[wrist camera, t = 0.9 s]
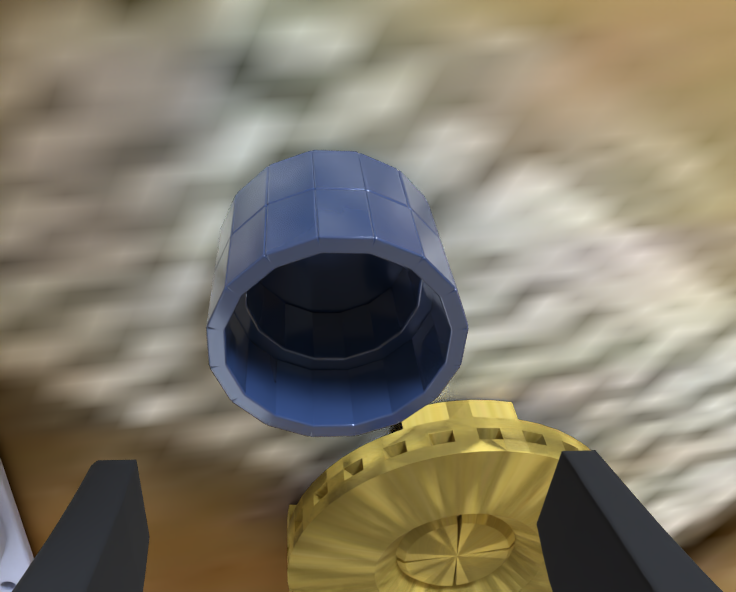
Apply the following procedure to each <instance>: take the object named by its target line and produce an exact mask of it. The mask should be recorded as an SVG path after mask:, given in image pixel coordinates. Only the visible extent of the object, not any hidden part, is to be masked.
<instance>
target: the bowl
mask: <svg viewBox="0 0 736 592" xmlns="http://www.w3.org/2000/svg"><path fill="white" fill-rule="evenodd" d="M467 333H468V322H467V319H466V316H465V313H464V309H463V306H462V303H461V300H460V296H459V293H458V290H457V287H456V284H455V281H454V278H453V275H452V272H451V269H450V266H449V263H448V260H447V257H446V254H445V251H444V248H443V245H442V242H441V239H440V236H439V234H438V231H437V228H436V225H435V222H434V219H433V216H432V213H431V210H430V207H429V204H428V202H427V201H426V198H425V196H424V195H423V194H422V193H421V192H420V191H419V190H418V189H417V188H416V187H415V186H414V185H413V184H412V182H411V181H410V180H409V179H408V178H407V177H406V176H405V175H404V174H403V173H402V172H401V171H398V170H397V169H396V168H394V167H392V166H389V165H387V164H385V163H382V162H380V161H378V160H375V159H373V158H371V157H369V156H366V155H364V154H361V153H359V154H358V152H356V151H327V150H313V151H308V152H305V153H302V154H299V155H296V156H294V157H291V158H288V159H285V160H282V161H279V162H276V163H273V164H271V165H269V167H266V168H265V169H264V170H263V171H261V172H260V173H259V174H258V175H257V176H256V177H255V178H254V179H252V180H251V181H250V182H249V183H248V184H247V185H246V186H244V187H243V188H242V189H241V190H240V191H239V192H238V193H237V194H236V195H235V197H234V199H233V201H232V204H231V206H230V208H229V211H228V213H227V215H226V217H225V220H224V222H223V224H222V226H221V230H220V237H219V244H218V250H217V257H216V264H215V271H214V277H213V284H212V291H211V297H210V304H209V311H208V318H207V325H206V334H207V348H208V361H209V366H210V369H211V371H212V372H213V374H214V375H215V377H216V378H217V380H218V382H219V383H220V385H221V386H222V388H223V389H224V391H225V393H226V394H227V396H228V397H229V399H230V400H232V402H233V403H234V404H236V405H237V406H239V407H240V408H242V409H243V410H245V411H246V412H248V413H249V414H251V415H252V416H254V417H255V418H257V419H258V420H260V421H261V422H263V423H264V424H267V425H268V426H271V427H275V428H279V429H282V430H286V431H290V432H293V433H297V434H301V435H305V436H311V437H336V436H355V435H356V436H358V435H362V434H365V433H368V432H372V431H375V430H378V429H382V428H385V427H388V426H392V425H395V424H398V423H399V422H402V421H404V420H405V419H407V418H408V417H410V416H411V415H413V414H414V413H416V412H417V411H419V410H420V409H422V408H423V407H425V406H426V405H428V404H430V403H431V402H433V401H434V400H435V399H436V398H437V397H438V396H439V395H440V393H441V392H442V391H443V389H444V388H445V387H446V385H447V384H448V383H449V381H450V380H451V379H452V377H453V376H454V374H455V373H456V372H457V370H458V369H459V368H460V365H461V363H462V358H463V353H464V348H465V343H466V338H467Z"/></svg>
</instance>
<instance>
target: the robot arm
mask: <svg viewBox="0 0 736 592" xmlns="http://www.w3.org/2000/svg"><path fill="white" fill-rule="evenodd" d="M537 529H538V534H539V539H540V543H541V548H542V553H543V557H544V562H545V566H546V570H547V574H548V578H549V582H550V585H551V588H552V591H553V592H723V591H722V590H721V589H720V588H719V587H718V586H717V585H716V584H715V583H714V582H713V581H712V580H711V579H710V578H709V577H708V576H707V575H706V574H705V573H704V572H703V571H702V570H701V569H700V568H699V567H698V566H697V565H696V564H695V562H694V561H693V560H692V559H691V558H690V557H689V556H688V555H687V554H686V553H685V552H684V550H683V549H682V548H681V547H680V546H679V545H678V544H677V543H676V542H675V541H674V540H673V539H672V537H671V536H670V535H669V534H668V533H667V532H666V531H665V530H664V529H663V528H662V526H661V525H660V524H659V523H658V522H657V521H656V520H655V519H654V517H653V516H652V515H651V514H650V513H649V512H648V511H647V509H646V508H645V507H644V506H643V505H642V504H641V503H640V501H639V500H638V499H637V498H636V497H635V496H634V494H633V493H632V492H631V491H630V490H629V489H628V487H627V486H626V485H625V484H624V483H623V482H622V481H621V479H620V478H619V477H618V476H617V475H616V474H615V472H614V471H613V470H612V469H611V468H610V467H609V465H608V464H607V463H606V462H605V461H604V460H603V459H602V457H601V456H600V455H599V454H598V453H597V452H596V451H595V450H584V451H562V452H561V455H560V458H559V460H558V463H557V466H556V469H555V472H554V475H553V478H552V481H551V483H550V486H549V489H548V492H547V495H546V498H545V501H544V504H543V507H542V509H541V512H540V515H539V518H538V521H537ZM148 545H149V531H148V525H147V519H146V514H145V508H144V502H143V496H142V490H141V484H140V478H139V473H138V467H137V461H136V460H98V461H96V462H95V463H94V464H92V465H91V467H90V469H89V471H88V472H87V474H86V476H85V478H84V480H83V481H82V483H81V485H80V487H79V488H78V490H77V492H76V494H75V495H74V497H73V499H72V500H71V502H70V504H69V505H68V507H67V509H66V510H65V512H64V514H63V515H62V517H61V518H60V520H59V522H58V523H57V525H56V526H55V528H54V530H53V531H52V533H51V534H50V536H49V537H48V539H47V541H46V542H45V544H44V545H43V546H42V548H41V549H40V551H39V552H38V554H37V555H36V557H35V558H34V557H33V554H32V551H31V548H30V545H29V542H28V539H27V536H26V533H25V530H24V527H23V524H22V521H21V518H20V515H19V512H18V509H17V506H16V503H15V500H14V497H13V494H12V491H11V488H10V485H9V482H8V479H7V476H6V473H5V470H4V467H3V464H2V462H1V459H0V592H143V586H144V579H145V571H146V562H147V554H148Z"/></svg>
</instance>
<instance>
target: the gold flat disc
mask: <svg viewBox="0 0 736 592" xmlns="http://www.w3.org/2000/svg"><path fill="white" fill-rule="evenodd" d="M402 426H403V429H402V430H400V431H397V432H394V433H391V434H388V435H386V436H383V437H380V438H378V439H376V440H374V441H372V442H370V443H368V444H365V445H363V446H361V447H359V448H358V449H356V450H354V451H353V452H351V453H349V454H348V455H346V456H344V457H343V458H341V459H340V460H339V461H337V462H336V463H335V464H333V465H332V466H331V467H329V468H328V469H327V470H325V471H324V472H323V473H322V474H321V475H320V476H319V477H318V478H317V479H316V480H315V481H314V482H313V483H312V484H311V485H310V487H309V488H308V489H307V490H306V492H305V493H304V494H303V495H302V497H301V499H300V500H299V502H298V504H297V505H289V510H288V516H287V575H288V587H289V590H290V592H553V591H552V588H551V585H550V582H549V578H548V574H547V570H546V566H545V562H544V557H543V553H542V548H541V543H540V539H539V534H538V529H537V521H538V518H539V515H540V512H541V509H542V507H543V504H544V501H545V498H546V495H547V492H548V489H549V486H550V483H551V481H552V478H553V475H554V472H555V469H556V466H557V463H558V460H559V458H560V455H561V452H562V451H584V450H590V449H589V448H588V447H587V446H585V445H584V444H582V443H581V442H579V441H578V440H576V439H575V438H573V437H571V436H569V435H567V434H565V433H563V432H561V431H559V430H556V429H553V428H550V427H547V426H544V425H541V424H538V423H533V422H528V421H523V420H519V419H518V418H517V415H516V412H515V410H514V407H513V404H512V402H504V401H494V400H461V401H449V402H441V403H435V404H430V405H426V406H425V407H423V408H422V409H420V410H419V411H417V412H416V413H414V414H413V415H411V416H410V417H408V418H407V419H405V420H404V421H402Z"/></svg>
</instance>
